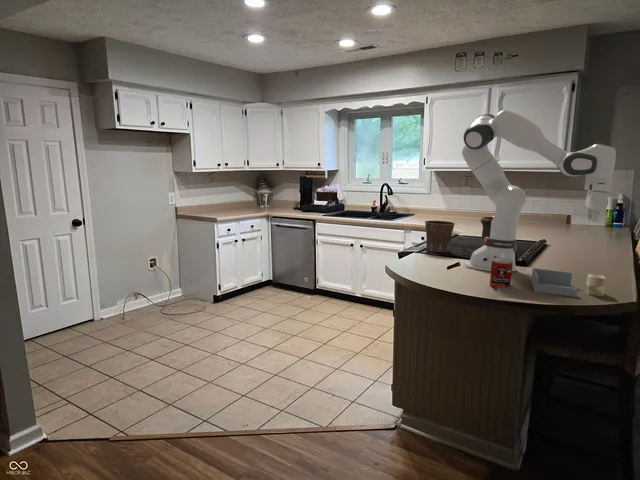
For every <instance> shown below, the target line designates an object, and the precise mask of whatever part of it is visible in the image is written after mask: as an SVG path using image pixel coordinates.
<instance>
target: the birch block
mask: <svg viewBox="0 0 640 480" xmlns="http://www.w3.org/2000/svg"><path fill="white" fill-rule="evenodd" d="M606 283H607V278H606V277H605V276H604V275H602V274H601V275H599V274H593V273H592V274H591V273H588V274H587V276H586V285H585V292H586V294H587V295H589V296H590V295H591V296H597V297H599V296H600V297H604V295H605V291H606V290H605V288H606Z"/></svg>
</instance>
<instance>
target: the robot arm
mask: <svg viewBox="0 0 640 480" xmlns="http://www.w3.org/2000/svg"><path fill="white" fill-rule="evenodd" d="M495 138H500V139H501V138H502V139H504V140H505V141H507V142H509V143H510V144H512V145H513V146H516V147H518V148H521V149H524V150H526V151H530V152H534V153H537V154H539V156H542V157H543V158H545V159H546V160H548V161H550V162H552V163H553V164H554V165H555V166H556V167H557V168H558V170H559V172H560V173H561V174H562V175H564V176H566V177H569V178H570V177H571V178H573V177H579V176H585V183H584V190H586V191H587V193H586V198H585V203H584V205H585V208H587V217H586V218H587V219H588V220H591V222H593V223H597V222H598V220H599V217H600V214H601V212H604V211H605V210H606V208H607V204H608V203H607V202H608V199H609V194H610V193H612V188H613V187H612V186H613V185H612V184H613V171H614V169H615V166H616V165H615V164H616V160H617V159H616V157H617V156H616V155H617V152H616V148H615V147H614V146H613V145H609V144H605V143H594V144H593V145H591V146H589V147H587V148H584V149H582V150H577V151H574V152H573V151H567V150H564V149H562V148H561V147H560V146H557V144H555V143H553V142H551V141H550V140H549V139H547V138H546V136H545V135H544V134H543V131H542V129H541V128H540V127H539V126H538V125H537V124H536V123H534V122H533V121H532V120H531V119H529V118H527V117H525V116H523V115H521V114H518V113H516V112H514V111H511V110H507V109H502V110H501V111H498V112H497V113H496V114H495V115H493V114H492V113H491V114H490V113H484V114H483V113H482V114H481V115H479V116H478V117H477V118H476V119H474V120H473V121H472V122H471V123H470V124H469V126H468V127H467V128H466V129H465V131H464V133H463V142H464V144H465V145H464V146H463V148H462V150H461V155H462V157H463V159H464V161H465V163H466V165H467V167H469V170H470V171H471V172H472V174H473V175H474V177H475V178H476V179H477V180H478V181H479V183H480V185H481V186H482V187H483V190H484V192H485V193H486V195H487V196H488V198H489V199H490V201H491V203H492V204H493V205H494V206H495V207H496V208H495V212H494V215H493V217H494V218H493V219H492V222H491V232H490V237H489V238H488V237H485V239H484V240H485V245H484V246H482V245H481V247H479V248H477V249H475V250H474V251H473V252H472V253H471V256H470V259H469V260H466V261H465V264H464V265H465V267H466V268H468V269H475V270H480V271H487V272H491V264H492V259H493V258H507V259H510V260H512V261H513V266H512V272H516V271H517V267H516V259H515V258H516V256H515V253H516V250H517V244H518V243H517V233H518V232H517V230H518V223H519V219H520V216H521V213H522V210H523V207H524V206H525V204H526V203H527V194H526V193H525V191H524V190H523V189H522V188H520V186H516V185H512V183H510V182H509V179H508V178H507V176H506V174H505V171H504V169H503V167H502V166H501V164H500V163H499V162H498V160H497V159H496V158H495V156H494V154H492V152H491V151H490V149H489V147H488V144H489V143H491V142H492V141H493V140H494V139H495Z"/></svg>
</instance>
